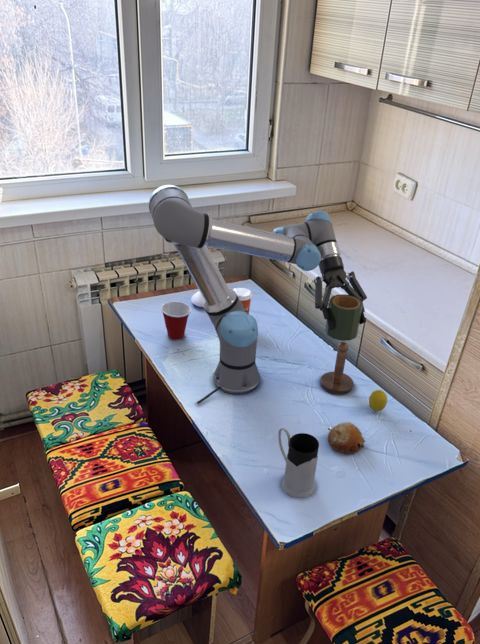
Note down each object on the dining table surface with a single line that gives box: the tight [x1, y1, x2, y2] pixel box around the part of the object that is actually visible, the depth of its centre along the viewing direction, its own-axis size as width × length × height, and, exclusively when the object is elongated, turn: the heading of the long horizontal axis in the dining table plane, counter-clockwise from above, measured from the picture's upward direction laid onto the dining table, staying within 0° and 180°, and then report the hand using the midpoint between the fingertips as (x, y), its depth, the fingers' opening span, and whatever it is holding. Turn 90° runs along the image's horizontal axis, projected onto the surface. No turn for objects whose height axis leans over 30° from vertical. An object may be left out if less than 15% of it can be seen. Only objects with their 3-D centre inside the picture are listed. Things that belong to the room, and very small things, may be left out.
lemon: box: [368, 389, 388, 412], centre depth 176 cm, size 6×6×8 cm
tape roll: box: [324, 293, 364, 342], centre depth 176 cm, size 10×10×11 cm
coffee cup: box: [232, 287, 253, 315], centre depth 212 cm, size 8×8×15 cm
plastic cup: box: [160, 300, 192, 341], centre depth 204 cm, size 11×11×12 cm
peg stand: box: [319, 341, 354, 396], centre depth 184 cm, size 11×11×17 cm
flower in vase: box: [190, 290, 206, 308], centre depth 222 cm, size 13×11×25 cm
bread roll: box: [327, 421, 366, 455], centre depth 163 cm, size 10×10×8 cm
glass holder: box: [277, 427, 320, 499], centre depth 147 cm, size 9×14×15 cm, turn 36°
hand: (348, 325), depth 175 cm, fingers closed on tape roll, 10 cm apart
